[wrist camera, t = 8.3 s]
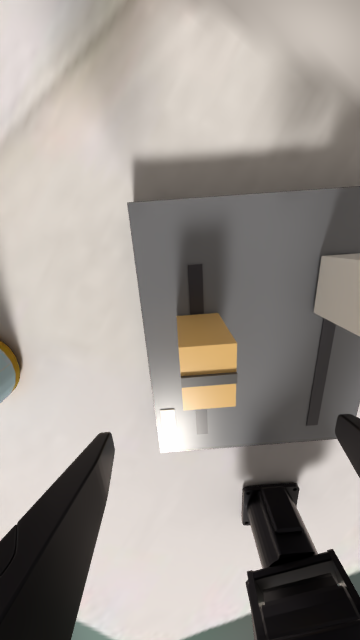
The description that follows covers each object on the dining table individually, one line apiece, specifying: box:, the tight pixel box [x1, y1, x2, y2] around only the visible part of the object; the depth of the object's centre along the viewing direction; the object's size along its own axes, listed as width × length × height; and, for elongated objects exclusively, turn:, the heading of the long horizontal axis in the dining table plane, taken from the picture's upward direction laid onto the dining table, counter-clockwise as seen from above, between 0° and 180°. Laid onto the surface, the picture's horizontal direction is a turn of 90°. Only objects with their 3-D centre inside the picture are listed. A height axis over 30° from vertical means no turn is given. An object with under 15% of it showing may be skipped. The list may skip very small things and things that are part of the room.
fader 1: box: [177, 313, 238, 411], centre depth 14 cm, size 4×3×5 cm
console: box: [127, 186, 360, 453], centre depth 19 cm, size 21×18×3 cm
